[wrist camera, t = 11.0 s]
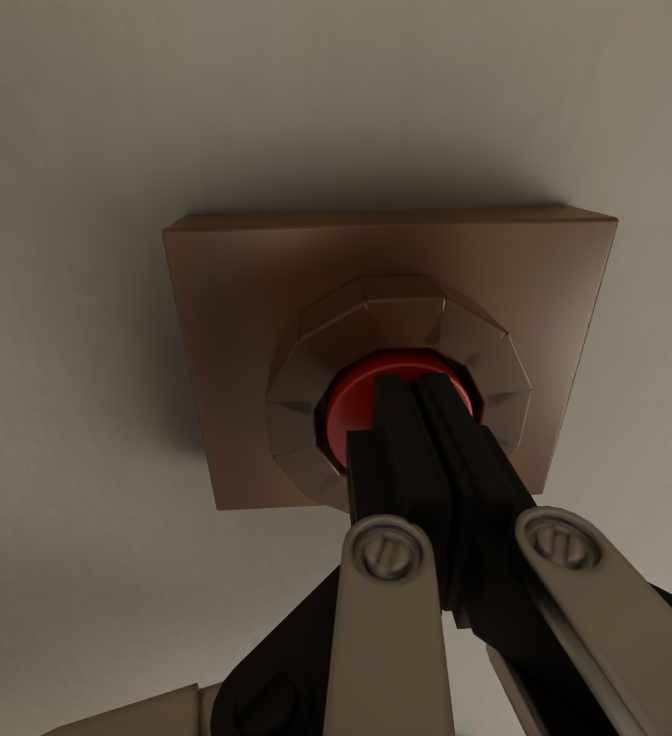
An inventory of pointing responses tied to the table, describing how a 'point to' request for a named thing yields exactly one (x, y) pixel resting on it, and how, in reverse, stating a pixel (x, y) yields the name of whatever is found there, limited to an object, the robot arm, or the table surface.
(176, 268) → the button block
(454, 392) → the robot arm
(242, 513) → the table surface
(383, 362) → the button
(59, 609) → the table surface
